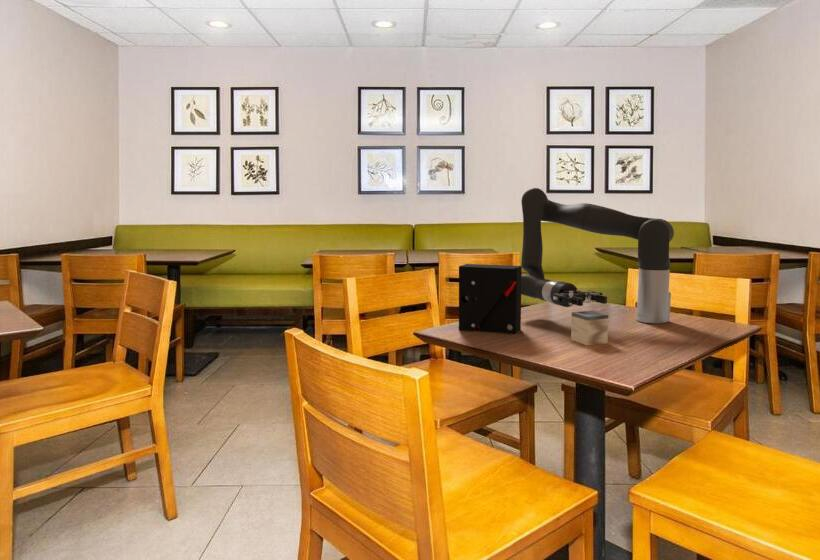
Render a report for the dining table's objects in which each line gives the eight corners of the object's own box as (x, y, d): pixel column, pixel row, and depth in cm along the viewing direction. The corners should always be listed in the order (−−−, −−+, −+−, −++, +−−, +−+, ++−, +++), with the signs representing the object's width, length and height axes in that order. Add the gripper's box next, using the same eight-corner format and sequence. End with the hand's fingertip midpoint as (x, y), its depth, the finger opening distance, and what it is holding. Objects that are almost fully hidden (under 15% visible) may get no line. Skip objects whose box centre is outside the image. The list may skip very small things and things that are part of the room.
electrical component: (522, 328, 172) (523, 265, 170) (514, 336, 163) (515, 268, 160) (468, 324, 180) (469, 263, 177) (458, 330, 170) (458, 266, 168)
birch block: (608, 315, 153) (607, 343, 154) (592, 310, 159) (591, 337, 160) (587, 316, 150) (586, 345, 151) (571, 312, 157) (571, 339, 158)
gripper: (540, 282, 171) (574, 290, 156) (578, 280, 176) (614, 286, 161) (540, 306, 172) (573, 316, 157) (577, 303, 177) (613, 312, 162)
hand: (594, 301), depth 159 cm, fingers open, 8 cm apart
